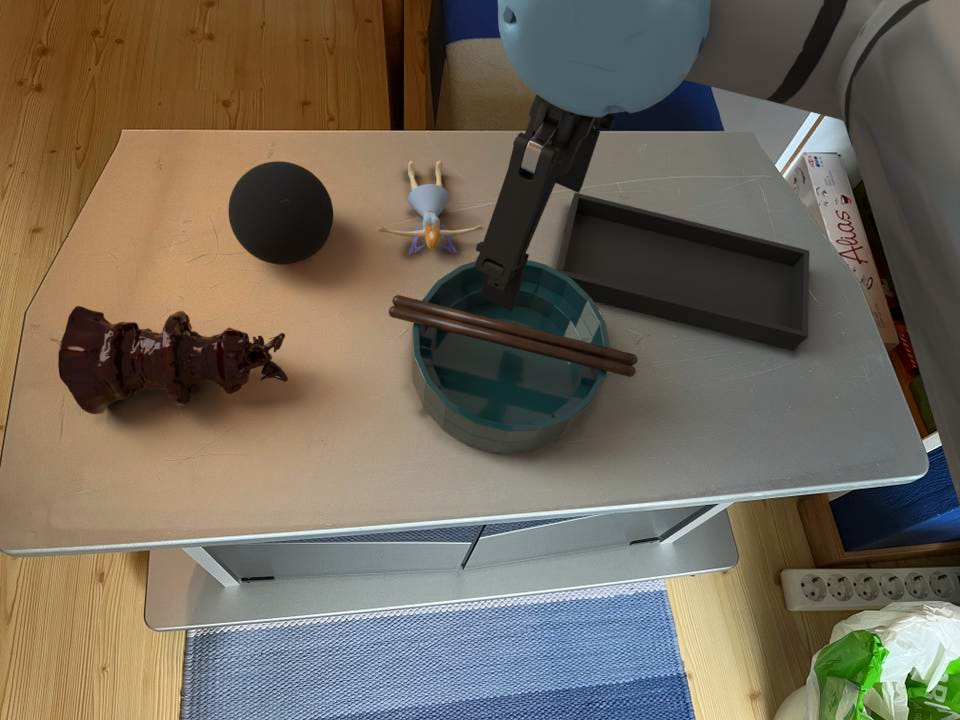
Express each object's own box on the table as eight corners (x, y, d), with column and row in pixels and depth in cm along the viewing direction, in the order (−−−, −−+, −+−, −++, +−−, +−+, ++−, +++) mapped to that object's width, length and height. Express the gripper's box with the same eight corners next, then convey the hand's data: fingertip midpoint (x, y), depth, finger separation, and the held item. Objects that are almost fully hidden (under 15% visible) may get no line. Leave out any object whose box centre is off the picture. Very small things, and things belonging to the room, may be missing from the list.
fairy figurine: (477, 149, 82) (490, 229, 75) (473, 182, 86) (486, 261, 79) (372, 150, 80) (376, 231, 74) (373, 184, 84) (377, 264, 78)
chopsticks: (636, 358, 69) (639, 353, 68) (633, 380, 67) (636, 375, 67) (394, 297, 69) (394, 291, 68) (387, 318, 68) (387, 312, 67)
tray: (793, 351, 78) (808, 336, 75) (551, 290, 78) (556, 274, 76) (796, 266, 83) (809, 250, 80) (568, 210, 84) (574, 192, 81)
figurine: (104, 391, 72) (295, 384, 75) (65, 433, 62) (286, 424, 65) (89, 291, 69) (289, 289, 71) (46, 320, 59) (279, 316, 62)
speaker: (354, 258, 78) (349, 195, 69) (267, 299, 74) (249, 239, 66) (307, 193, 81) (297, 125, 72) (222, 230, 78) (200, 163, 69)
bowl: (578, 476, 69) (593, 453, 64) (389, 427, 69) (388, 401, 64) (606, 315, 78) (621, 283, 72) (438, 272, 78) (441, 238, 73)
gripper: (613, -119, 48) (552, 125, 67) (433, 123, 37) (420, 335, 55) (721, -77, 47) (628, 158, 66) (571, 184, 36) (510, 379, 54)
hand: (533, 239), depth 61 cm, fingers open, 13 cm apart
